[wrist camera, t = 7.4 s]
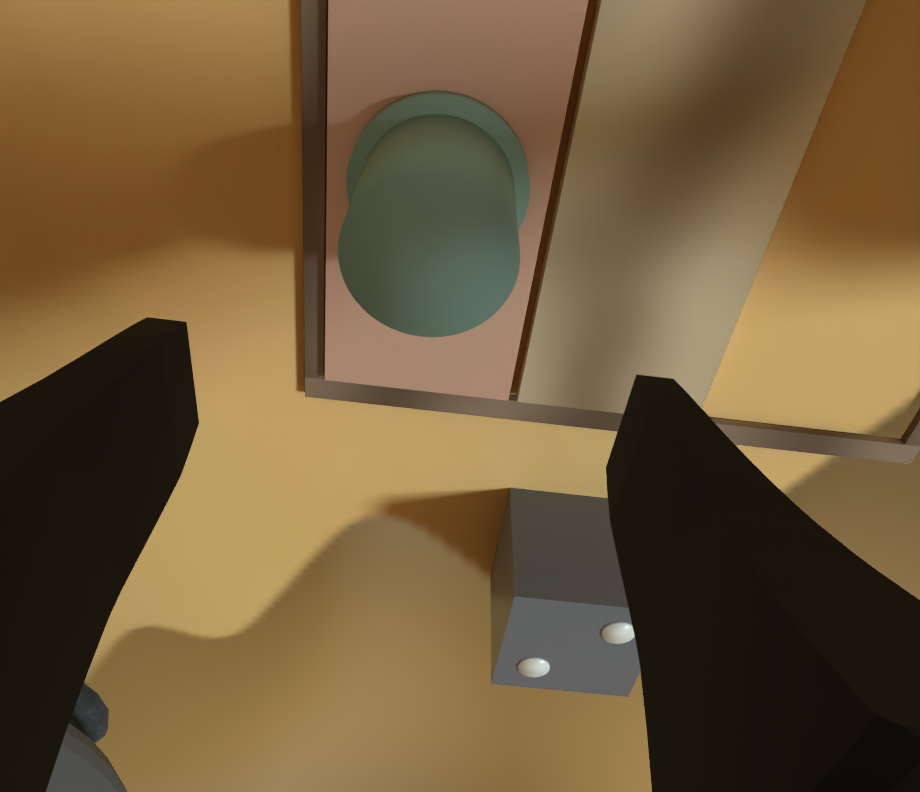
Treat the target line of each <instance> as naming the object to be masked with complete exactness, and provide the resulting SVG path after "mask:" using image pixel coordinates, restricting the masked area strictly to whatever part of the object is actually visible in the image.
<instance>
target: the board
mask: <svg viewBox="0 0 920 792" xmlns="http://www.w3.org/2000/svg"><path fill="white" fill-rule="evenodd" d="M866 1H867V0H598V1H597V6H596V11H595V15H594V20H593V25H592V30H591V35H590V40H589V44H588V49H587V54H586V59H585V64H584V69H583V73H582V78H581V83H580V88H579V93H578V98H577V102H576V107H575V112H574V117H573V122H572V127H571V131H570V136H569V141H568V146H567V151H566V155H565V160H564V165H563V170H562V175H561V180H560V184H559V189H558V194H557V199H556V204H555V209H554V213H553V218H552V223H551V228H550V233H549V238H548V242H547V247H546V252H545V257H544V262H543V267H542V271H541V276H540V281H539V286H538V291H537V296H536V300H535V305H534V310H533V315H532V320H531V325H530V329H529V334H528V339H527V344H526V349H525V354H524V358H523V363H522V368H521V373H520V378H519V383H518V387H517V396H515V395H510V390H511V385H512V380H513V375H514V370H515V365H516V360H517V355H518V350H519V345H520V340H521V335H522V330H523V325H524V320H525V315H526V310H527V305H528V300H529V295H530V290H531V285H532V280H533V275H534V270H535V265H536V260H537V255H538V250H539V245H540V240H541V235H542V230H543V225H544V220H545V215H546V210H547V205H548V200H549V195H550V190H551V185H552V180H553V175H554V170H555V165H556V160H557V155H558V150H559V145H560V140H561V135H562V130H563V125H564V120H565V115H566V110H567V105H568V100H569V95H570V90H571V85H572V80H573V75H574V70H575V65H576V60H577V55H578V50H579V45H580V40H581V35H582V30H583V25H584V20H585V15H586V10H587V5H588V0H301V52H302V147H303V243H304V338H305V397H314V398H323V399H332V400H341V401H350V402H359V403H368V404H377V405H386V406H395V407H404V408H413V409H422V410H431V411H440V412H449V413H458V414H467V415H476V416H485V417H494V418H502V419H511V420H520V421H529V422H538V423H547V424H556V425H565V426H574V427H583V428H592V429H601V430H610V431H618V429H619V426H620V423H621V420H622V417H623V414H624V411H625V408H626V405H627V402H628V399H629V396H630V393H631V389H632V386H633V383H634V380H635V377H636V374H637V375H645V376H654V377H663V378H671V379H674V380H675V381H676V382H677V383H678V384H679V385H680V386H681V387H682V388H683V389H684V390H685V391H686V392H687V393H688V394H689V395H690V396H691V397H692V399H693V400H694V401H695V402H696V403H697V404H698V405H699V406H700V407H701V408H702V407H703V404H704V402H705V399H706V397H707V395H708V392H709V390H710V387H711V385H712V382H713V380H714V377H715V375H716V372H717V370H718V367H719V365H720V362H721V360H722V357H723V355H724V353H725V350H726V348H727V345H728V343H729V340H730V338H731V335H732V333H733V330H734V328H735V325H736V323H737V320H738V318H739V315H740V313H741V310H742V308H743V306H744V303H745V301H746V298H747V296H748V293H749V291H750V288H751V286H752V283H753V281H754V278H755V276H756V273H757V271H758V268H759V266H760V263H761V261H762V259H763V256H764V254H765V251H766V249H767V246H768V244H769V241H770V239H771V236H772V234H773V231H774V229H775V226H776V224H777V221H778V219H779V216H780V214H781V212H782V209H783V207H784V204H785V202H786V199H787V197H788V194H789V192H790V189H791V187H792V184H793V182H794V179H795V177H796V174H797V172H798V169H799V167H800V165H801V162H802V160H803V157H804V155H805V152H806V150H807V147H808V145H809V142H810V140H811V137H812V135H813V132H814V130H815V127H816V125H817V122H818V120H819V118H820V115H821V113H822V110H823V108H824V105H825V103H826V100H827V98H828V95H829V93H830V90H831V88H832V85H833V83H834V80H835V78H836V75H837V73H838V71H839V68H840V66H841V63H842V61H843V58H844V56H845V53H846V51H847V48H848V46H849V43H850V41H851V38H852V36H853V33H854V31H855V28H856V26H857V24H858V21H859V19H860V16H861V14H862V11H863V9H864V6H865V4H866ZM433 90H440V91H451V92H456V93H461V94H464V95H467V96H470V97H473V98H475V99H477V100H479V101H481V102H483V103H485V104H486V105H487V106H489V107H490V108H492V109H493V110H495V111H496V112H497V113H498V114H499V115H500V116H501V117H502V118H504V120H505V121H506V122H507V123H508V124H509V125H510V127H511V128H512V129H513V131H514V133H515V134H516V136H517V137H518V139H519V141H520V143H521V146H522V148H523V150H524V153H525V157H526V160H527V166H528V172H529V179H530V196H529V204H528V208H527V212H526V216H525V218H524V221H523V223H522V226H521V227H520V229H519V231H518V233H519V245H520V267H519V273H518V277H517V281H516V283H515V286H514V288H513V291H512V292H511V294H510V296H509V298H508V299H507V301H506V302H505V303H504V304H503V306H502V307H501V308H500V309H499V310H498V311H497V312H496V313H495V314H494V315H493V316H492V317H491V318H489V319H488V320H487V321H485V322H484V323H482V324H480V325H479V326H477V327H475V328H473V329H470V330H468V331H466V332H463V333H459V334H456V335H451V336H445V337H420V336H414V335H409V334H406V333H402V332H399V331H397V330H394V329H392V328H389V327H387V326H386V325H384V324H382V323H380V322H379V321H377V320H376V319H374V318H373V317H371V316H370V315H369V314H368V313H367V312H366V311H365V310H363V309H362V307H361V306H360V305H359V304H358V303H357V302H356V301H355V299H354V298H353V296H352V295H351V293H350V292H349V290H348V288H347V286H346V284H345V282H344V280H343V277H342V274H341V271H340V266H339V261H338V241H339V235H340V231H341V227H342V225H343V222H344V219H345V217H346V214H347V211H348V209H349V202H348V196H347V183H346V181H347V170H348V165H349V161H350V157H351V155H352V152H353V150H354V147H355V145H356V142H357V140H358V138H359V136H360V135H361V133H362V131H363V129H364V128H365V127H366V125H367V124H368V123H369V121H370V120H371V119H372V118H373V117H374V116H375V115H376V114H377V113H378V112H379V111H380V110H382V109H383V108H384V107H386V106H387V105H388V104H390V103H392V102H394V101H396V100H397V99H399V98H402V97H404V96H407V95H410V94H413V93H418V92H422V91H433ZM711 419H712V421H713V422H714V423H715V424H716V425H717V426H718V427H719V428H720V429H721V430H722V432H723V433H724V434H725V435H726V436H727V437H728V438H729V439H730V440H731V441H732V442H733V443H734V444H736V445H744V446H753V447H762V448H771V449H780V450H789V451H798V452H807V453H816V454H825V455H834V456H843V457H852V458H861V459H870V460H879V461H888V462H898V463H907V464H910V463H911V462H912V460H913V459H914V457H915V456H916V454H917V453H918V451H919V450H920V409H919V411H918V412H917V414H916V416H915V417H914V419H913V421H912V422H911V423H910V425H909V427H908V428H907V430H906V431H905V433H904V434H903V436H902V438H901V439H895V438H886V437H877V436H869V435H860V434H851V433H842V432H833V431H824V430H816V429H807V428H798V427H789V426H780V425H771V424H763V423H754V422H745V421H736V420H727V419H718V418H711Z"/></svg>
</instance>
